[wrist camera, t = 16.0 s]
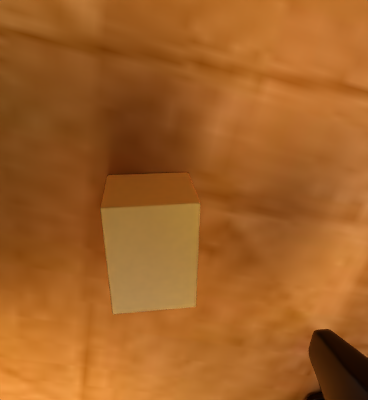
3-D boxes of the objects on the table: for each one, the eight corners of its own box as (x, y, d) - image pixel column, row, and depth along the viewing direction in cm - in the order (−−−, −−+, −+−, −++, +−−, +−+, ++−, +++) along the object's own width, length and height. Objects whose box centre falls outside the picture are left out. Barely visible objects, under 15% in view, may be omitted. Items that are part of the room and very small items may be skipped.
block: (186, 263, 16) (196, 307, 14) (116, 268, 16) (112, 314, 13) (188, 171, 14) (200, 203, 11) (106, 174, 14) (100, 207, 11)
